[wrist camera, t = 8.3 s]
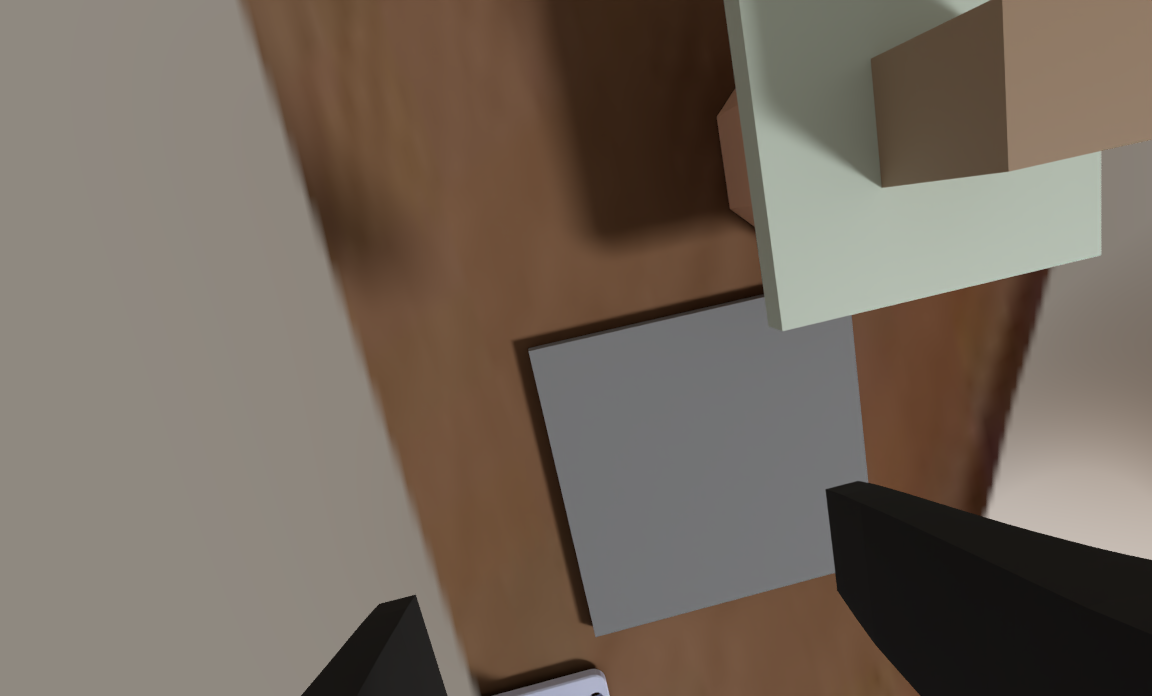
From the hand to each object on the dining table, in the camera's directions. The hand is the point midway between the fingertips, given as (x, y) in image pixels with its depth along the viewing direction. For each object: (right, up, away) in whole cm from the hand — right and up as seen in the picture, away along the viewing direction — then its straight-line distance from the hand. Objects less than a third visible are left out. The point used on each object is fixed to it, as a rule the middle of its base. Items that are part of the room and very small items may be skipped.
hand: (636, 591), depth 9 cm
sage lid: (+8, +10, +5) cm, 14 cm away
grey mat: (+4, 0, +11) cm, 11 cm away
